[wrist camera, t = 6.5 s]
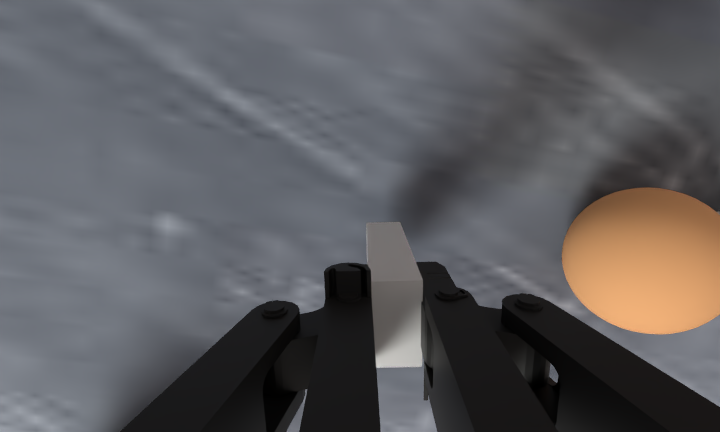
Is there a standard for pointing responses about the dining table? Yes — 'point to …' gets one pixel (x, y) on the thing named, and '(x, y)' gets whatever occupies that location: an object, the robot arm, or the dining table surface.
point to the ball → (646, 260)
